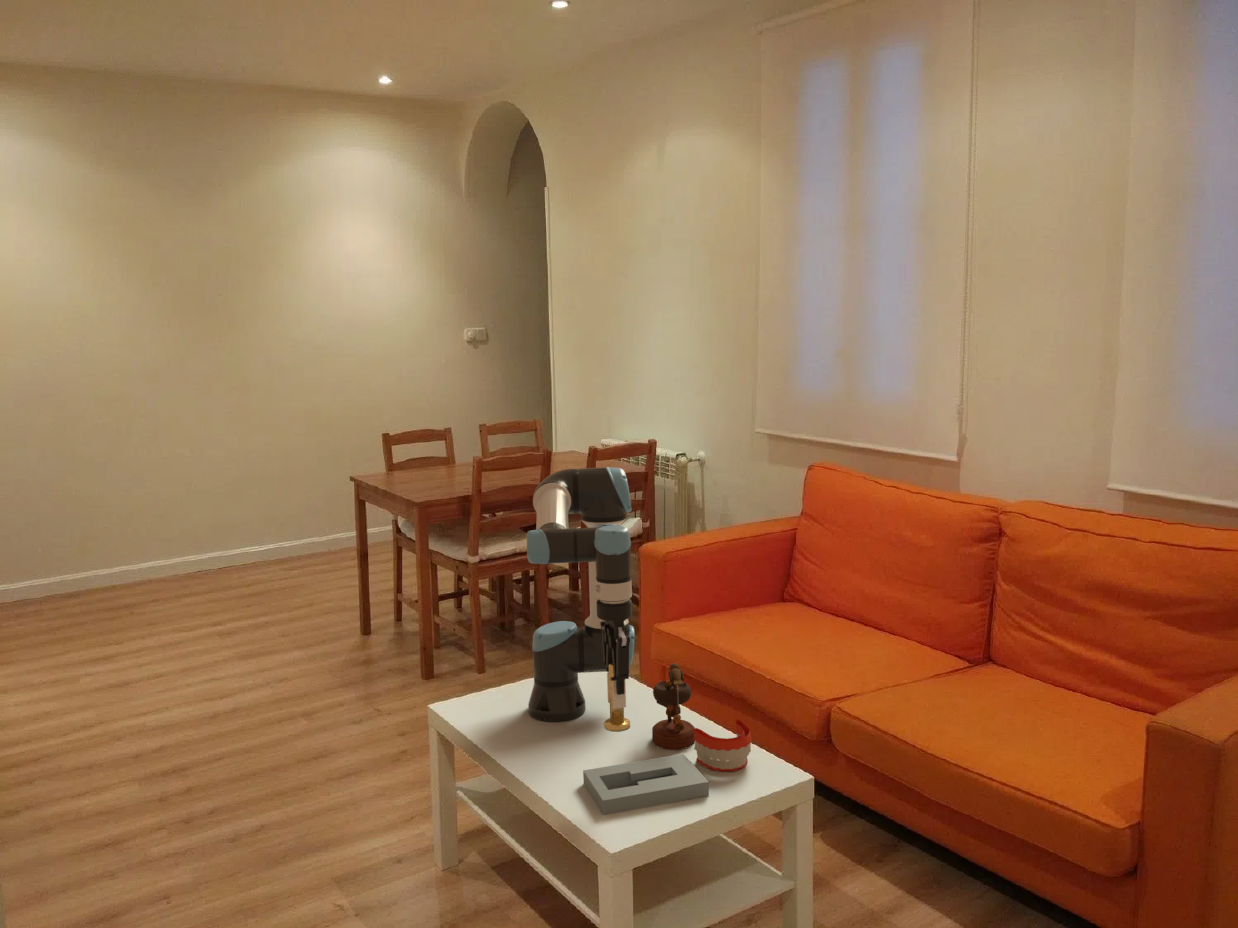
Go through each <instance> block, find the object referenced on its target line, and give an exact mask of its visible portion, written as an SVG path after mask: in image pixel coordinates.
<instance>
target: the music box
mask: <svg viewBox="0 0 1238 928" xmlns="http://www.w3.org/2000/svg"><path fill="white" fill-rule="evenodd" d="M668 678H669V679H666V680H661V681H659V682H657V683H656V684H655V686H654V687H653V690H652V695H653V697H654V699H655V701H656V704H658V705H660V706H662V707H664V708H666V709H665V714H666V716H667V719H663V720H660V721H658V722H656V723H655V724H654V725H653V726H652V729H651V732H652V733H651V734H652V743H653V745H654V746H655V747H657V748H659V749H660V748H661V749H663V750H670V751H671V750H672V751H676V750H684V749H687V748H690V747H692V746H693V745H695V741H694V729H695V728H696V727H695V726H694V725H693V724H692V723H691V722H689V721H687V720H684V719H682V716H681V711H682V709H681V707H680V705H682V704H685V703H687V702H688V701H689V700H690V699H691V696H692V689H691V687H690V685H689V684H688V683H687V682H686V681H685V677H684V674H683V670H680V665H679V664H678V663H677V662H673V663H671V664H670V666H669V670H668Z"/></svg>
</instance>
